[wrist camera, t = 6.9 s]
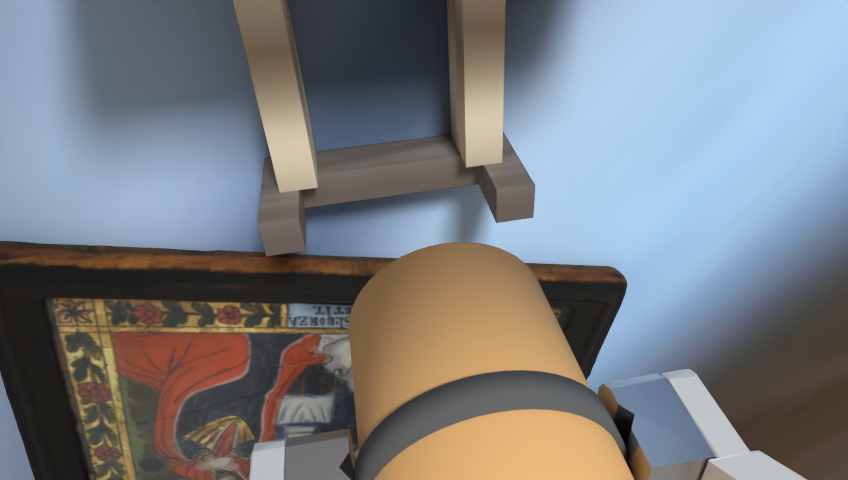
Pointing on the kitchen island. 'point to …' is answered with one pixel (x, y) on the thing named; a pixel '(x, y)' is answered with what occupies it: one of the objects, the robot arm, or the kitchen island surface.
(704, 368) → the kitchen island surface
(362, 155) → the wooden trestle bench
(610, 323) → the framed icon painting
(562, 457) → the banded tan cylinder
